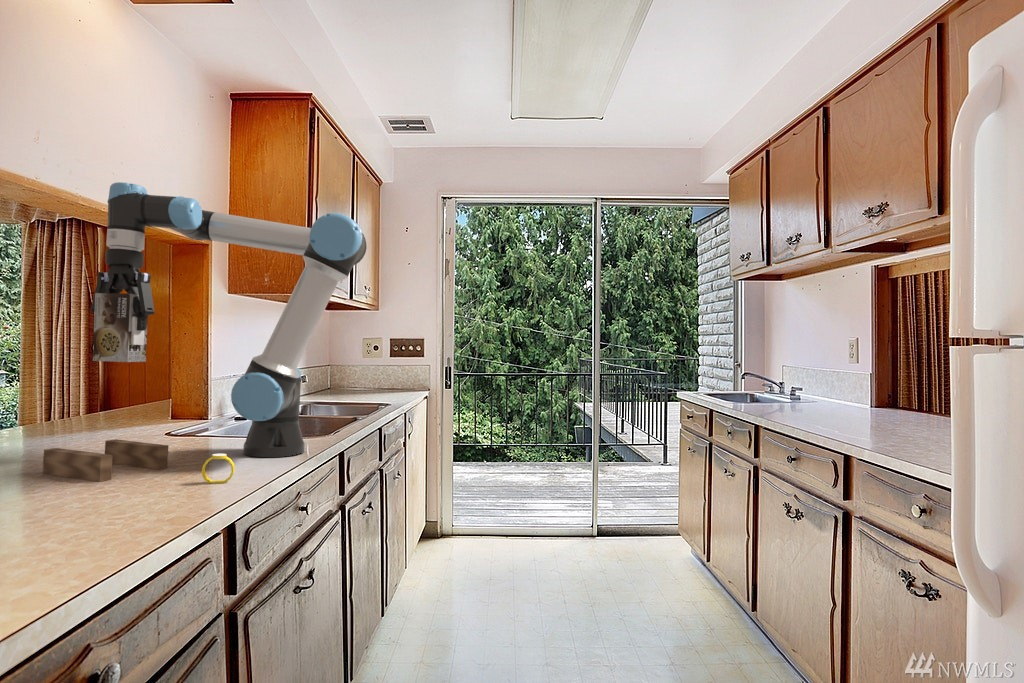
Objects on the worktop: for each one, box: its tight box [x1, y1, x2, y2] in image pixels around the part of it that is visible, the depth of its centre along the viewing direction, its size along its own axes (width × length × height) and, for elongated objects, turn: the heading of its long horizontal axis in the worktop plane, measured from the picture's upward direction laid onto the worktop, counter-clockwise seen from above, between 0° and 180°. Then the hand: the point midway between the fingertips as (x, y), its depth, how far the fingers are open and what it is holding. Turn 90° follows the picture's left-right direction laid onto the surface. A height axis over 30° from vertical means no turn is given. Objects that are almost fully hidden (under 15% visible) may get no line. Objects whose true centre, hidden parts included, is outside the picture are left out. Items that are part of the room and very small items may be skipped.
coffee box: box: [92, 292, 149, 363], centre depth 138 cm, size 9×6×16 cm
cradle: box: [42, 438, 169, 483], centre depth 128 cm, size 16×16×5 cm
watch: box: [201, 452, 236, 484], centre depth 122 cm, size 6×3×6 cm, turn 106°
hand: (120, 343), depth 138 cm, fingers closed on coffee box, 10 cm apart
